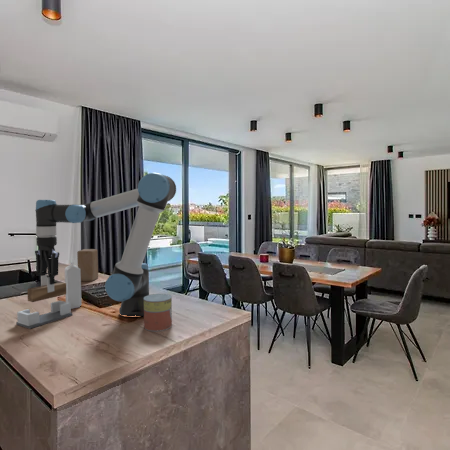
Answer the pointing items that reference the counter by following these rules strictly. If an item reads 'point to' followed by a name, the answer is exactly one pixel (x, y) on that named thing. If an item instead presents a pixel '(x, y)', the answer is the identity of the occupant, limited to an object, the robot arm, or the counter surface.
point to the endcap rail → (44, 315)
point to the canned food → (157, 312)
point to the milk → (73, 285)
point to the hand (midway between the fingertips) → (47, 290)
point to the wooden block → (88, 264)
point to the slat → (42, 293)
